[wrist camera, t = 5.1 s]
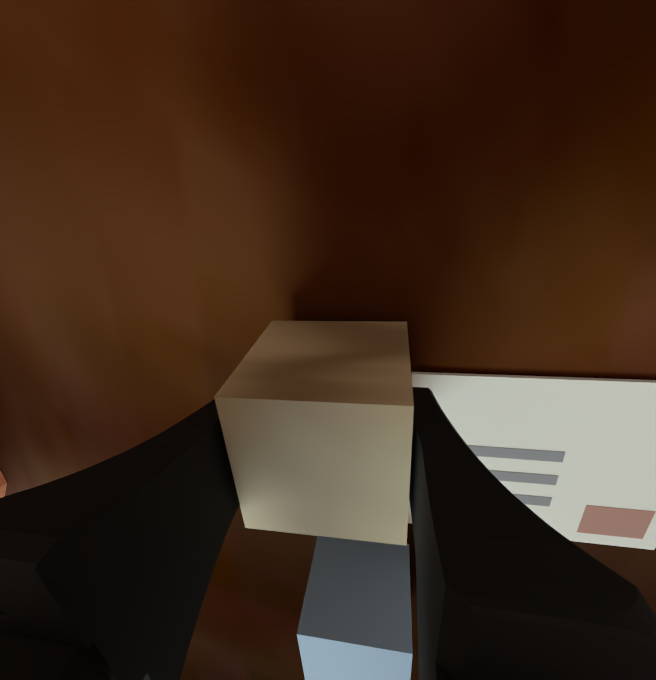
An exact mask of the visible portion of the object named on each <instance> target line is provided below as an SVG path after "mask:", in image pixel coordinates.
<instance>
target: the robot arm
mask: <svg viewBox="0 0 656 680" xmlns="http://www.w3.org/2000/svg"><path fill="white" fill-rule="evenodd" d="M412 389H413V402H414V414H413V433H412V452H411V471H410V490H409V501H410V509H411V517H412V526H413V534H414V543H415V555H416V583H417V618H418V657H419V680H656V614H655V613H654V612H653V610H652V609H651V607H650V606H649V604H648V603H647V602H646V600H645V599H644V597H643V596H642V594H641V593H640V591H639V589H638V588H637V587H636V586H634V585H633V584H632V583H630V582H629V581H627V580H626V579H624V578H623V577H621V576H620V575H618V574H617V573H615V572H614V571H612V570H611V569H609V568H608V567H606V566H605V565H604V564H602V563H601V562H599V561H598V560H596V559H595V558H593V557H592V556H590V555H589V554H587V553H586V552H584V551H583V550H582V549H580V548H579V547H577V546H576V545H575V544H573V543H572V542H571V541H569V540H568V539H567V538H565V537H564V536H563V535H562V534H560V533H559V532H558V531H556V530H555V529H554V528H552V527H551V526H550V525H548V524H547V523H546V522H545V521H544V520H542V519H541V518H540V517H539V516H538V515H536V514H535V513H534V512H533V511H532V510H531V509H529V508H528V507H527V506H526V505H525V504H524V503H523V502H521V501H520V500H519V499H518V498H517V497H516V496H514V495H513V494H512V493H511V492H510V491H509V490H508V489H507V488H506V487H505V486H504V485H503V484H502V483H501V482H500V481H499V480H498V479H497V478H496V477H495V476H494V475H493V474H492V473H491V472H490V471H489V470H488V469H487V468H486V466H485V465H484V464H483V463H482V462H481V461H480V460H479V459H478V457H477V456H476V455H475V454H474V453H473V451H472V450H471V449H470V448H469V447H468V445H467V444H466V443H465V442H464V440H463V439H462V438H461V436H460V435H459V434H458V432H457V431H456V429H455V428H454V427H453V425H452V424H451V422H450V421H449V419H448V418H447V416H446V415H445V413H444V412H443V410H442V409H441V407H440V405H439V404H438V402H437V400H436V398H435V396H434V394H433V392H432V391H431V390H430V389H429V388H425V387H412ZM239 504H240V503H239V499H238V495H237V490H236V486H235V482H234V478H233V474H232V469H231V465H230V461H229V457H228V453H227V449H226V444H225V440H224V436H223V432H222V428H221V423H220V419H219V415H218V411H217V407H216V403H215V399H214V400H213V401H211V402H210V403H208V404H207V405H205V406H204V407H202V408H201V409H199V410H198V411H196V412H195V413H193V414H191V415H190V416H188V417H187V418H185V419H183V420H182V421H180V422H178V423H177V424H175V425H174V426H172V427H170V428H169V429H167V430H165V431H164V432H162V433H160V434H158V435H156V436H155V437H153V438H151V439H149V440H147V441H145V442H143V443H141V444H139V445H137V446H135V447H134V448H132V449H129V450H127V451H125V452H123V453H121V454H119V455H116V456H114V457H112V458H109V459H107V460H105V461H103V462H100V463H98V464H96V465H94V466H91V467H89V468H86V469H84V470H81V471H79V472H76V473H74V474H71V475H68V476H66V477H63V478H60V479H57V480H54V481H52V482H49V483H46V484H43V485H40V486H37V487H34V488H31V489H28V490H25V491H21V492H18V493H15V494H11V495H8V496H5V497H2V498H0V680H180V676H181V672H182V669H183V665H184V662H185V658H186V655H187V651H188V647H189V644H190V641H191V638H192V634H193V631H194V628H195V625H196V621H197V618H198V615H199V612H200V608H201V605H202V602H203V599H204V596H205V593H206V590H207V587H208V584H209V581H210V578H211V575H212V572H213V569H214V566H215V563H216V561H217V558H218V555H219V552H220V550H221V547H222V544H223V541H224V538H225V536H226V533H227V531H228V528H229V526H230V524H231V521H232V519H233V517H234V515H235V513H236V511H237V509H238V507H239Z"/></svg>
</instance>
